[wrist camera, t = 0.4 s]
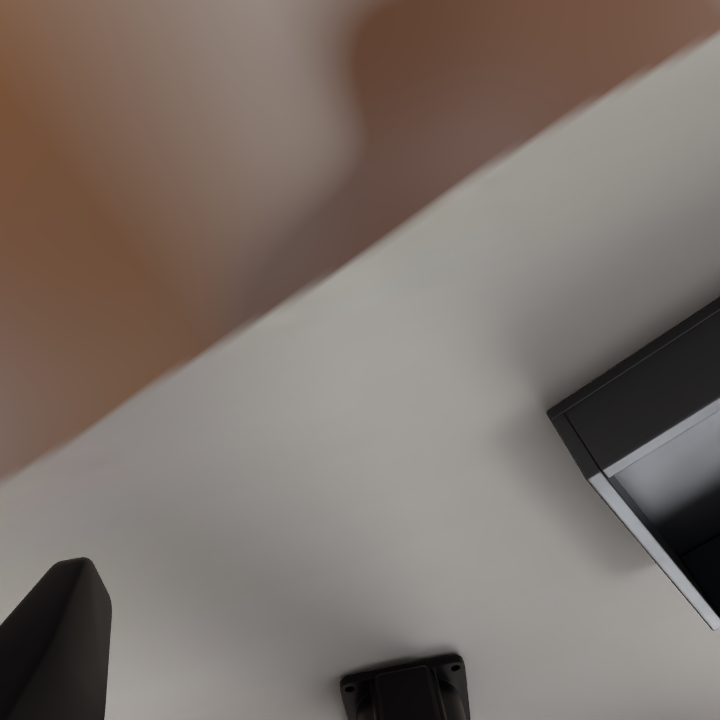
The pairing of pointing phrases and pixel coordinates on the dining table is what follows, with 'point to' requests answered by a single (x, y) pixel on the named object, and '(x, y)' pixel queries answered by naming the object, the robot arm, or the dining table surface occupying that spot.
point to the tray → (660, 451)
